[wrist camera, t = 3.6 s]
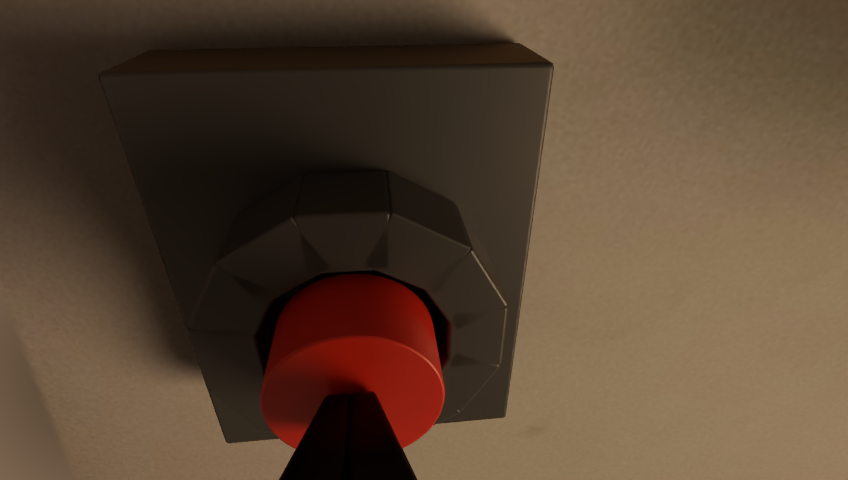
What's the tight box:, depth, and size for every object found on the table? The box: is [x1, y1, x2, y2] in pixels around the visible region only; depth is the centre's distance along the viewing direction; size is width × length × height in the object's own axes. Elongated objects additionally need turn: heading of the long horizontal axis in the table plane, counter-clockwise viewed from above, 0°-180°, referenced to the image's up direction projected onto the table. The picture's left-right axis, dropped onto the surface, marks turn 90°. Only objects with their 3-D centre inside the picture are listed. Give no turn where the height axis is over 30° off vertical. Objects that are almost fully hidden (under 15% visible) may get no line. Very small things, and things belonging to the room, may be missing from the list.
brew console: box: [99, 43, 554, 443], centre depth 11 cm, size 10×8×4 cm
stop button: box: [260, 273, 445, 449], centre depth 9 cm, size 3×3×2 cm
